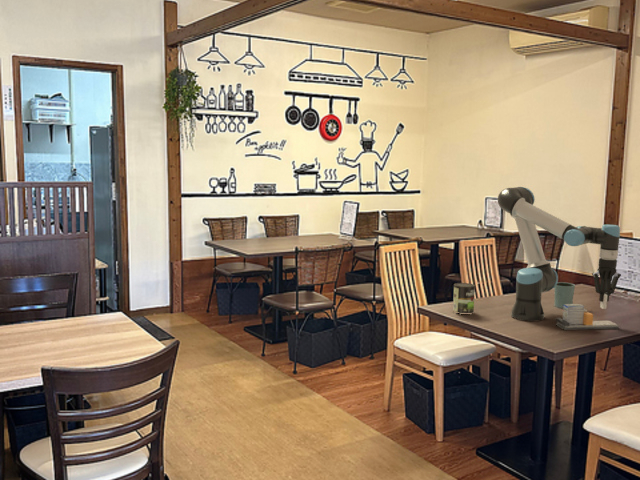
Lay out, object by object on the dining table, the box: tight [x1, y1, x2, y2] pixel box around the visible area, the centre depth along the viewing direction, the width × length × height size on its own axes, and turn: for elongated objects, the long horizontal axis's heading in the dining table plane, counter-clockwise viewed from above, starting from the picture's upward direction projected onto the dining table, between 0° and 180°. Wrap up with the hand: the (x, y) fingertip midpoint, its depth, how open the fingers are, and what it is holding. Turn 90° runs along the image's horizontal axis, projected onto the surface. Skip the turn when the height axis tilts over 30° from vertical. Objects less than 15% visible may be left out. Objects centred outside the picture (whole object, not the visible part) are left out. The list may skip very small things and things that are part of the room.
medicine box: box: [562, 303, 585, 325], centre depth 281 cm, size 8×4×9 cm, turn 96°
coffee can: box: [452, 282, 476, 314], centre depth 308 cm, size 10×10×14 cm
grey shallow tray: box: [555, 317, 620, 331], centre depth 283 cm, size 26×9×3 cm, turn 96°
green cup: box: [553, 281, 576, 309], centre depth 320 cm, size 10×10×12 cm
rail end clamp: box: [583, 308, 594, 325], centre depth 282 cm, size 3×9×6 cm, turn 6°
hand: (603, 308), depth 287 cm, fingers closed
